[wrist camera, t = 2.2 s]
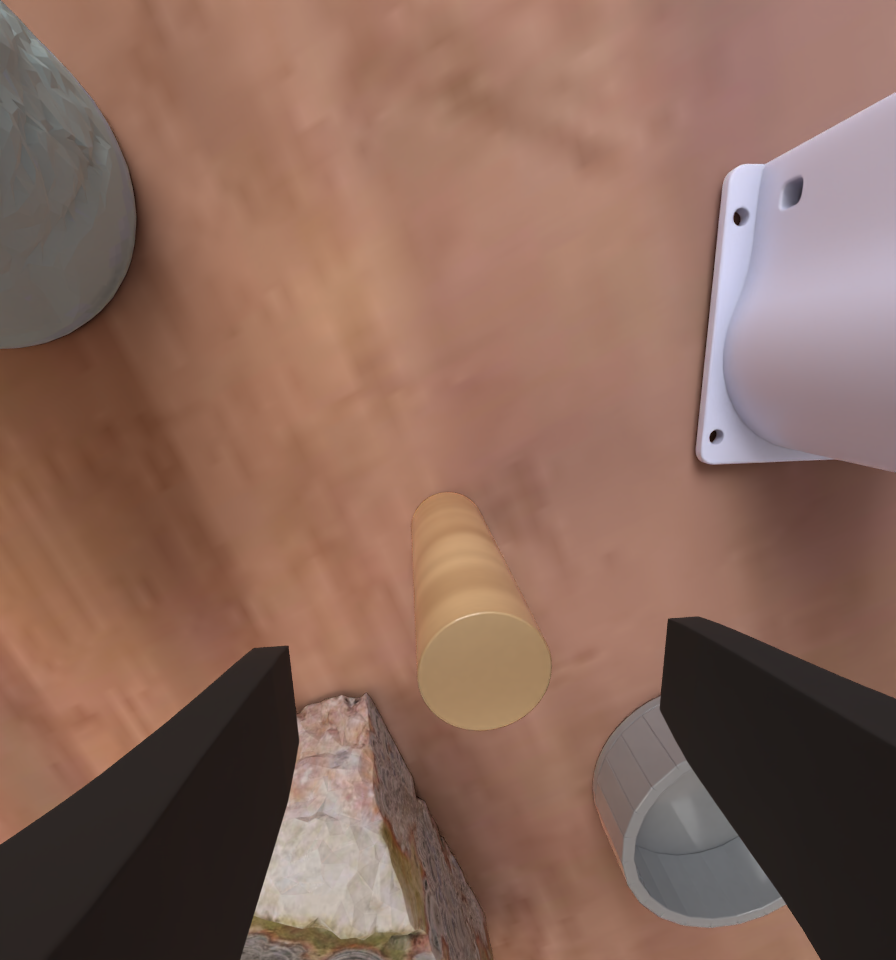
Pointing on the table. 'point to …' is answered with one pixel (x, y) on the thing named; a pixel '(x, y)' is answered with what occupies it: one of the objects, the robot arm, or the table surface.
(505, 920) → the table surface
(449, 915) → the geological specimen
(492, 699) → the stick
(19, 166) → the drinking glass
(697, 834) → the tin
